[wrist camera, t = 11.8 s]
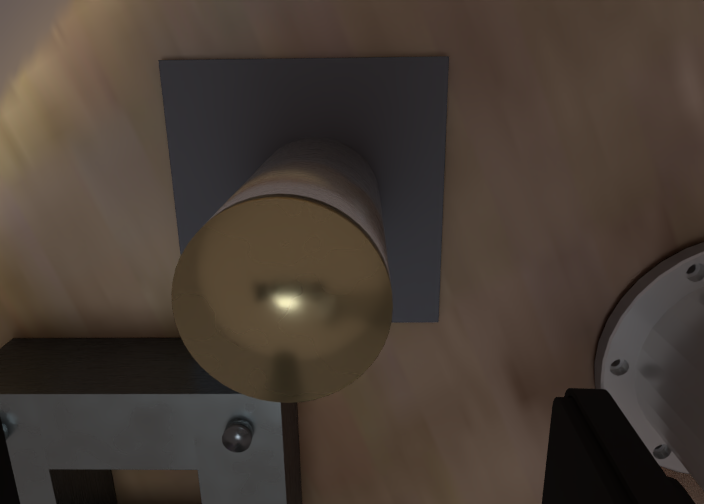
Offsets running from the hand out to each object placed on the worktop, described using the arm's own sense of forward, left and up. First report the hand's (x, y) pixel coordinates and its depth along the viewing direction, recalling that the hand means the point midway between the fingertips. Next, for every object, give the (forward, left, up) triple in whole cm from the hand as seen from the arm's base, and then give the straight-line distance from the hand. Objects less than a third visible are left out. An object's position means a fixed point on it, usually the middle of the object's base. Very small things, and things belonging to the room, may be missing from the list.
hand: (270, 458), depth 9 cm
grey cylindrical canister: (0, 0, -17) cm, 17 cm away
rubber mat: (+1, 0, -17) cm, 17 cm away
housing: (+9, +14, -17) cm, 24 cm away
